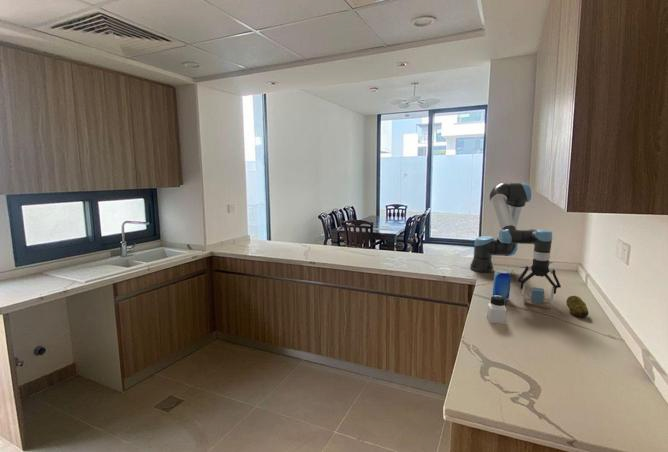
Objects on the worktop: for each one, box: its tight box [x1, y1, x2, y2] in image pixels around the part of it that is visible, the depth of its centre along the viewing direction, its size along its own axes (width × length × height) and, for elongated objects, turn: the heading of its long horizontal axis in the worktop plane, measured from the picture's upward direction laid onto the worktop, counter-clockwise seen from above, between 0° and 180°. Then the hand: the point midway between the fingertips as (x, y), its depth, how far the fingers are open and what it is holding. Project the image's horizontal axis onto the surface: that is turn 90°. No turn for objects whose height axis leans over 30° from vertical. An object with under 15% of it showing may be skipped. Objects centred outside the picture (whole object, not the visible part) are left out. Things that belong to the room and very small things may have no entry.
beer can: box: [492, 268, 512, 302], centre depth 198 cm, size 8×8×16 cm
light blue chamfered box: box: [530, 286, 545, 304], centre depth 193 cm, size 6×6×7 cm
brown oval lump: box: [565, 295, 590, 319], centre depth 179 cm, size 8×13×8 cm, turn 155°
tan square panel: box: [523, 295, 551, 310], centre depth 193 cm, size 12×12×6 cm
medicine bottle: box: [486, 295, 508, 325], centre depth 171 cm, size 7×7×12 cm
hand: (537, 297), depth 193 cm, fingers open, 13 cm apart
